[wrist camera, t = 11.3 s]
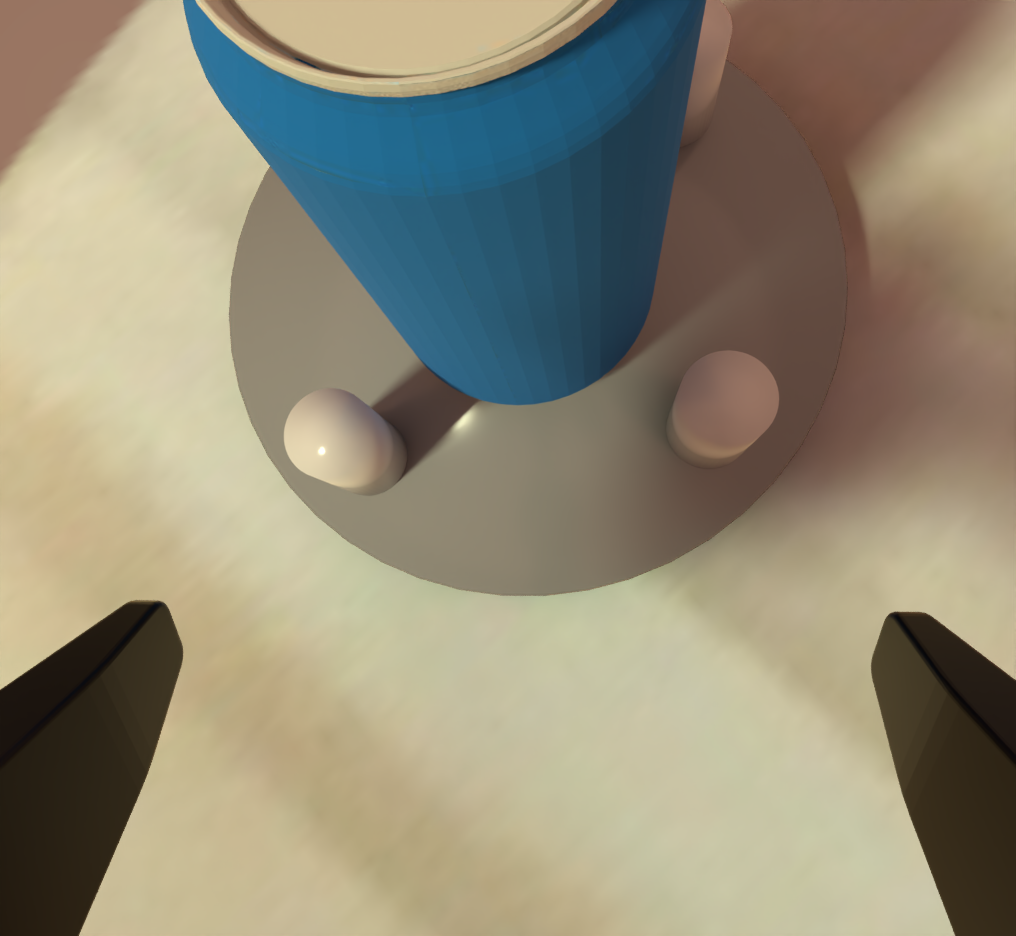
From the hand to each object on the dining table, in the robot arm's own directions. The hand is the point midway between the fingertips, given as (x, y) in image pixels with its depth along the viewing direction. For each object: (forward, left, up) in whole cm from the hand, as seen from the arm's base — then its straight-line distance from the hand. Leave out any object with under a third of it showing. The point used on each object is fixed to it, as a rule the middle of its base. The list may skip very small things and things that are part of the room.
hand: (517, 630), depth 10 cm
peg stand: (+8, +1, -10) cm, 13 cm away
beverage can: (+8, +1, -9) cm, 12 cm away
